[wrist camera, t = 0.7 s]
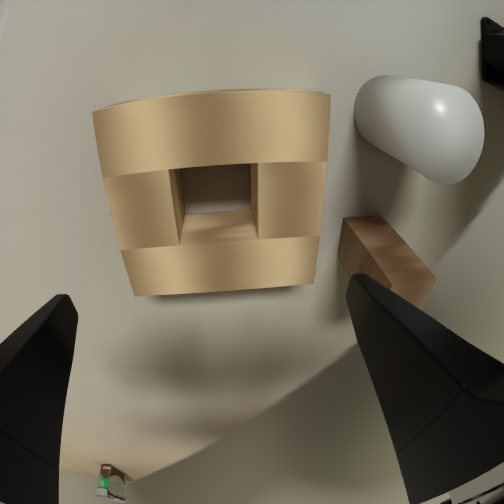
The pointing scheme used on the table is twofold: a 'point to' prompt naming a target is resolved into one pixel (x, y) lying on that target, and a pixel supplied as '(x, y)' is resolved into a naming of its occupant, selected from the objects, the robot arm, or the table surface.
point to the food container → (111, 484)
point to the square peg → (384, 258)
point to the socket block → (207, 154)
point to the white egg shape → (422, 125)
